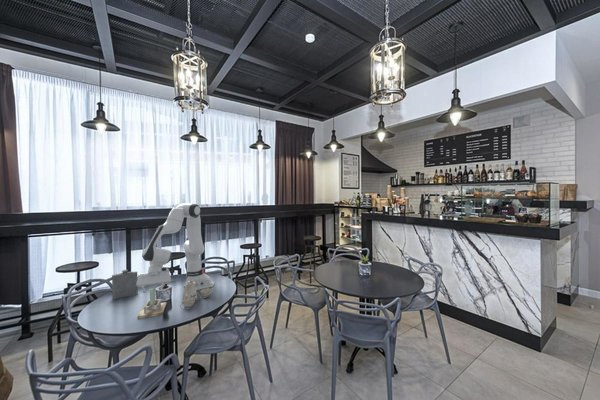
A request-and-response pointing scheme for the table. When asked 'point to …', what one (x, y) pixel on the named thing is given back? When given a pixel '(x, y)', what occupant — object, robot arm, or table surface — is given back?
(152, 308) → the end cap stand
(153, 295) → the slat
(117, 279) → the hip flask
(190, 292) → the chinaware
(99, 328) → the table surface
